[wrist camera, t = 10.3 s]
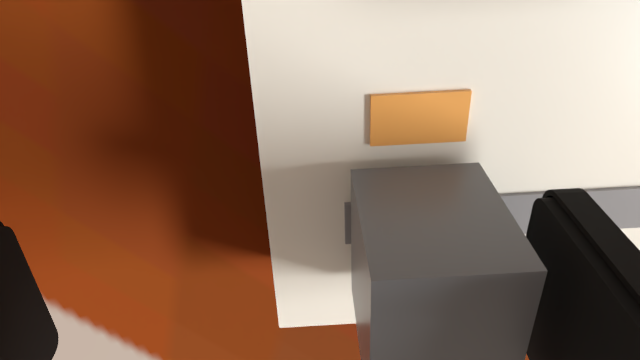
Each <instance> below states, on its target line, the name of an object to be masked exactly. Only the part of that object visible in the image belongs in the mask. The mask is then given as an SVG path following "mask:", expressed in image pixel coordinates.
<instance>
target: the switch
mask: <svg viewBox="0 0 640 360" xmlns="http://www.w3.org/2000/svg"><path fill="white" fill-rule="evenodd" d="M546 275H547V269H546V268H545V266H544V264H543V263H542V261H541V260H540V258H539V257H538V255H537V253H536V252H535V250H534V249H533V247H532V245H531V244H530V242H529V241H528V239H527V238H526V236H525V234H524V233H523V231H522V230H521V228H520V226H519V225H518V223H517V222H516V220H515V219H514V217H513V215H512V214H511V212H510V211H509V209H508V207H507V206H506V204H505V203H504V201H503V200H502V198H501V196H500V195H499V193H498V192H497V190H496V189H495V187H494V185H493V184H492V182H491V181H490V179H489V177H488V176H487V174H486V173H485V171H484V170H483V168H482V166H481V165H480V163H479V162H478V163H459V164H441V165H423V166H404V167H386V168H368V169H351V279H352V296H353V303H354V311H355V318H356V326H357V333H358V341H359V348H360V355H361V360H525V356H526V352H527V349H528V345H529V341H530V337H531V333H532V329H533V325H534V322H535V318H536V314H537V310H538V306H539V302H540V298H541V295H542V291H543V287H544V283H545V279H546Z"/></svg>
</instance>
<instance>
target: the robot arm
mask: <svg viewBox="0 0 640 360" xmlns="http://www.w3.org/2000/svg"><path fill="white" fill-rule="evenodd" d="M526 238H527V239H528V241H529V242H530V244H531V245H532V247H533V249H534V250H535V252H536V253H537V255H538V257H539V258H540V260H541V261H542V263H543V264H544V266H545V268H546V269H547V275H546V279H545V283H544V287H543V291H542V295H541V298H540V302H539V306H538V310H537V314H536V318H535V322H534V325H533V329H532V333H531V337H530V341H529V345H528V349H527V352H526V353H527V355H528V357H529V360H640V250H639V249H638V248H637V247H636V246H635V245H634V244H633V243H632V241H631V240H630V239H629V238H628V237H627V236H626V235H625V234H624V233H623V232H622V230H621V229H620V228H619V227H618V226H617V225H616V224H615V223H614V222H613V221H612V219H611V218H610V217H609V216H608V215H607V214H606V213H605V212H604V211H603V210H602V208H601V207H600V206H599V205H598V204H597V203H596V202H595V201H594V200H593V199H592V197H591V196H590V195H589V194H588V193H587V192H586V191H585V190H583V189H581V188H570V189H551V190H547V191H546V192H545V193H544V194H543V197H542V198H537V199H536V200H535V201H534V203H533V206H532V211H531V215H530V220H529V224H528V229H527V233H526ZM57 345H58V332H57V329H56V327H55V325H54V322H53V320H52V318H51V315H50V313H49V311H48V309H47V306H46V304H45V302H44V300H43V297H42V295H41V293H40V291H39V288H38V286H37V284H36V281H35V279H34V277H33V275H32V272H31V270H30V268H29V266H28V263H27V261H26V259H25V257H24V254H23V252H22V250H21V247H20V245H19V243H18V241H17V238H16V236H15V234H14V232H13V230H12V229H11V228H10V227H7V226H4V225H3V223H2V222H0V360H52V358H53V356H54V354H55V352H56V349H57Z"/></svg>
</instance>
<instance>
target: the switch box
mask: <svg viewBox="0 0 640 360" xmlns="http://www.w3.org/2000/svg"><path fill="white" fill-rule="evenodd" d="M241 1H242V10H243V18H244V27H245V36H246V44H247V53H248V62H249V70H250V79H251V87H252V96H253V105H254V113H255V122H256V131H257V139H258V148H259V157H260V165H261V174H262V182H263V191H264V200H265V208H266V217H267V226H268V234H269V243H270V251H271V260H272V269H273V277H274V286H275V295H276V303H277V312H278V320H279V328H283V327H300V326H317V325H334V324H351V323H356V318H355V311H354V303H353V296H352V279H351V169H368V168H386V167H404V166H423V165H441V164H459V163H478V162H479V163H480V165H481V166H482V168H483V170H484V171H485V173H486V174H487V176H488V177H489V179H490V181H491V182H492V184H493V185H494V187H495V189H496V190H497V192H498V193H499V195H500V196H501V198H502V200H503V201H504V203H505V204H506V206H507V207H508V209H509V211H510V212H511V214H512V215H513V217H514V219H515V220H516V222H517V223H518V225H519V226H520V228H521V230H522V231H523V233H524V234H525V236H526V233H527V229H528V224H529V220H530V215H531V211H532V206H533V203H534V201H535V200H536V199H537V198H542V197H543V194H544V193H545V192H546V191H547V190H551V189H570V188H581V189H583V190H585V191H586V192H587V193H588V194H589V195H590V196H591V197H592V199H593V200H594V201H595V202H596V203H597V204H598V205H599V206H600V207H601V208H602V210H603V211H604V212H605V213H606V214H607V215H608V216H609V217H610V218H611V219H612V221H613V222H614V223H615V224H616V225H617V226H618V227H619V228H620V229H621V230H622V232H623V233H624V234H625V235H626V236H627V237H628V238H629V239H630V240H631V241H632V243H633V244H634V245H635V246H636V247H637V248H638V249H639V250H640V0H241Z"/></svg>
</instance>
